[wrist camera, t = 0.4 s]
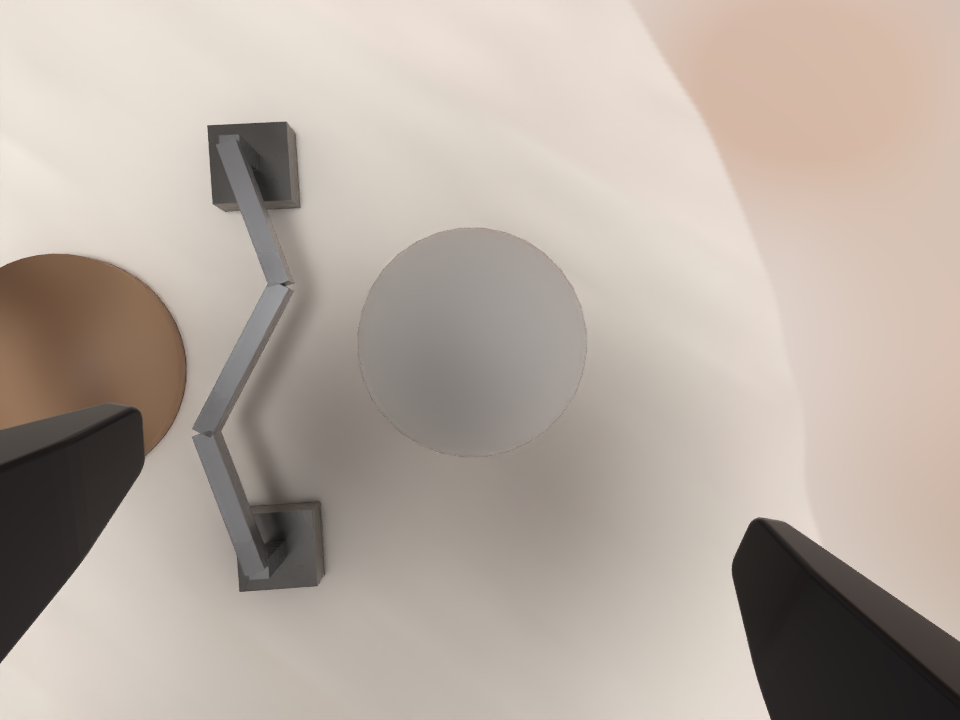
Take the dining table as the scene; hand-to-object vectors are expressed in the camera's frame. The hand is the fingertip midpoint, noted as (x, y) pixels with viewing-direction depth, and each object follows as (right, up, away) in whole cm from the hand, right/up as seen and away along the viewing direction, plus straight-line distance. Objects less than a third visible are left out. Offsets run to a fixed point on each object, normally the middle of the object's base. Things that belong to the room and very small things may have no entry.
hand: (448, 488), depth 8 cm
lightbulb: (0, +2, +15) cm, 15 cm away
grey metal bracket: (-8, +2, +15) cm, 17 cm away
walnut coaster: (-16, +2, +15) cm, 22 cm away
